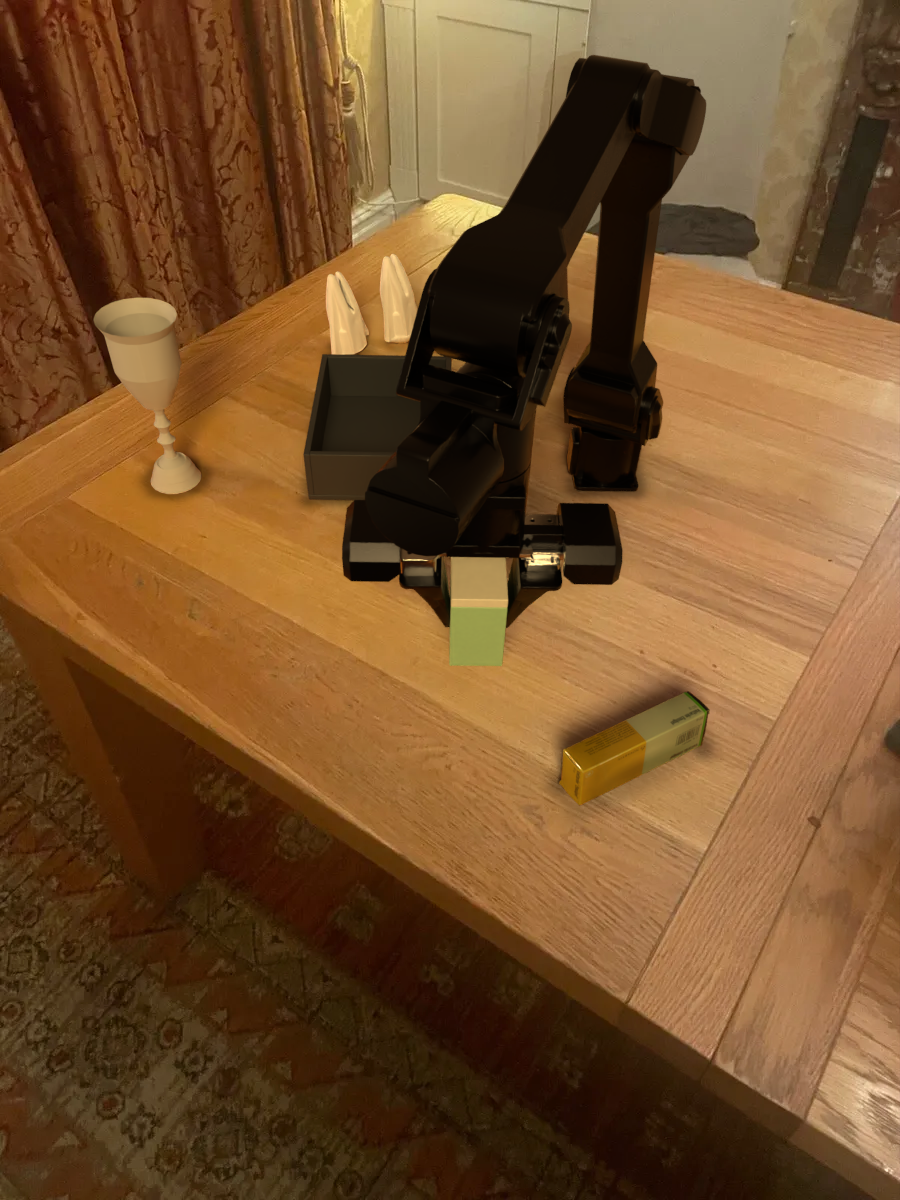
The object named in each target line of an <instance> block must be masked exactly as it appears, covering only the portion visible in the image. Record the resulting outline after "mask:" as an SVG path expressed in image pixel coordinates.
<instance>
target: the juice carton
mask: <svg viewBox="0 0 900 1200" xmlns="http://www.w3.org/2000/svg"><path fill="white" fill-rule="evenodd" d="M507 570H508V569H507V558H482V557H450V573H449V577H450V578H449V593H450V627H448V630H449V631H448V633H449V635H448V636H449V637H448V643H449V645H448V646H449V647H448V648H449V649H448V664H449V666H450V667H452V666H453V667H455V666H456V667H503V663H504V662H503V661H504V651H505V640H506V631H507V628H506V620H507V609H508V586H507V582H508V571H507Z"/></svg>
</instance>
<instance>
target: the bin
mask: <svg viewBox="0 0 900 1200" xmlns="http://www.w3.org/2000/svg"><path fill="white" fill-rule="evenodd" d="M404 358H405V355H398V354H397V355H395V354H394V355H391V354H390V355H389V354H387V355H386V354H348V355H347V354H345V355H339V354H332V353H329V354H327V353H323V354H321V359H320V364H319V370H318V375H317V379H316V385H315V391H314V396H313V401H312V407H311V412H310V418H309V423H308V428H307V433H306V437H305V442H304V443H305V444H304V448H303V454H302V455H303V464H304V471H305V472H304V473H305V479H306V488H307V496H308V500H312V501H313V500H314V501H354V500H365V492H366V490H367V488H368V485H369V482H370V480H371V479H372V478H373V476H374V475H375V474H376V473H377V472H378V471H379V470H380V468H381V467H382V466H383V465H384V464H385V463H386V462H387V461H388V459H389V458H390V457H391V456H392V455H393V454H394V453H395V452H396V450H397V447H398V446H399V445H400V444H401V442H402V441H403V440H404V439H405V438H406V437H407V436H408V435H409V434H411V433H412V432H413V431H414V430H415V429H416V428H417V425H418V423H419V420H420V402H419V401H416V400H412V399H409V398H405V397H402V396H399V395H397V394H396V388H397V384H398V381H399V377H400V373H401V369H402V366H403V362H404ZM452 364H453V363H452V358H448V357H445V356H441V355H432V358H431V360H430V362H429V365H433V366H436V367H440V368H443V369H447V370H451V371H453V370H452V368H453V367H452Z"/></svg>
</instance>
